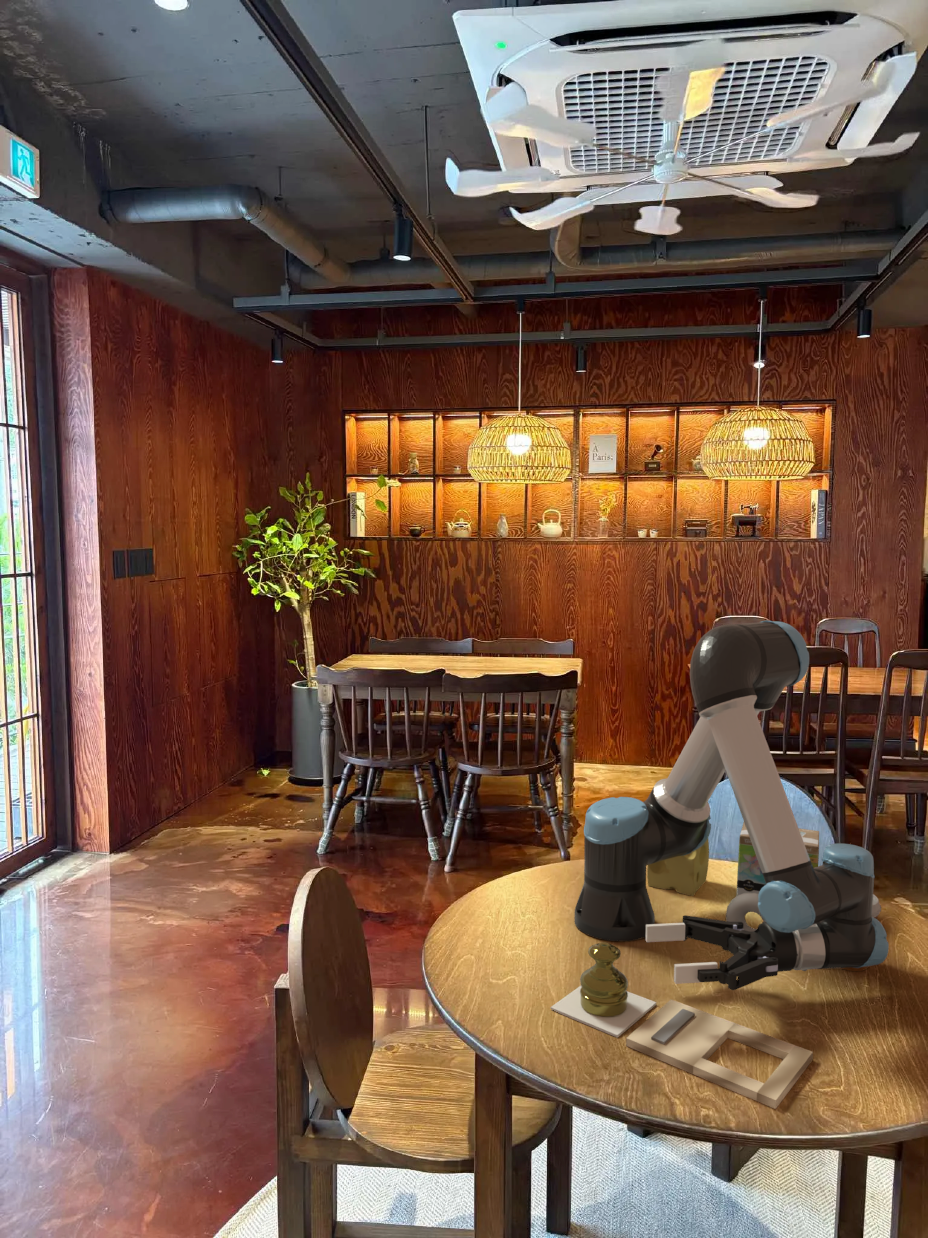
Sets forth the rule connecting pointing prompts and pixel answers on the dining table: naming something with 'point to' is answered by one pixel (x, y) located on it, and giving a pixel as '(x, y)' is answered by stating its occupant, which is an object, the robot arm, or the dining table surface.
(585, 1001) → the brass bell weight
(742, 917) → the donut
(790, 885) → the robot arm
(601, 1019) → the mat
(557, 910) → the dining table surface
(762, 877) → the tea box
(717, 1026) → the light wooden flat frame
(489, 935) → the dining table surface
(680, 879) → the cheese
